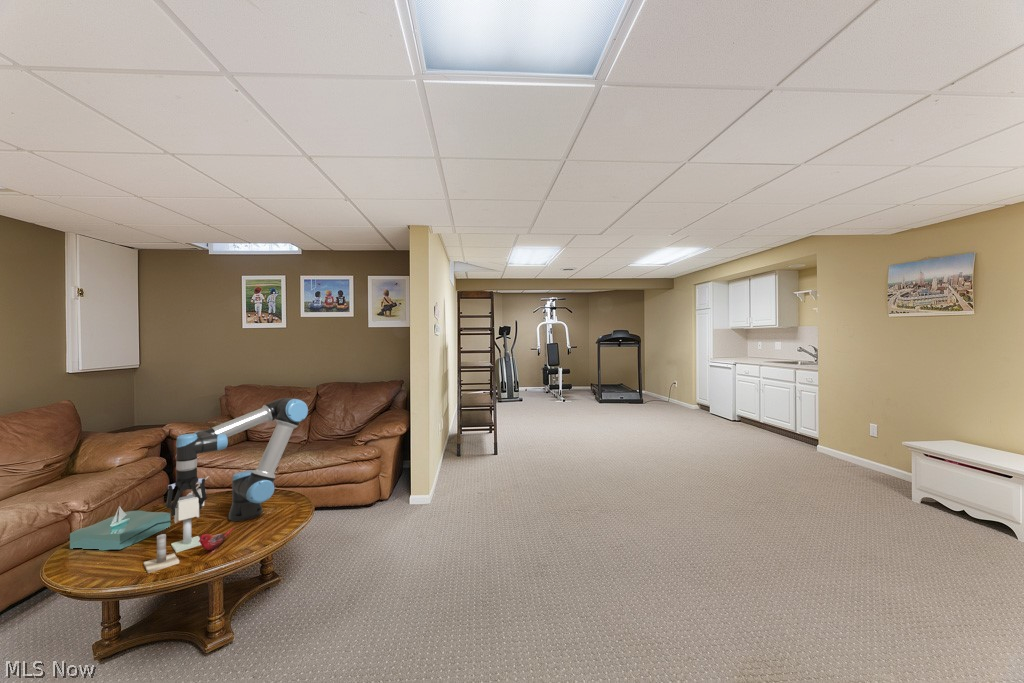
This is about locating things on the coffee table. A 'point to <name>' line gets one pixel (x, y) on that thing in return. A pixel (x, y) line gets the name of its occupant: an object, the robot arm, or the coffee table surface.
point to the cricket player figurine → (199, 491)
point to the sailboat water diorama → (120, 530)
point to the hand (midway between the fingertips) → (186, 519)
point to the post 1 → (161, 557)
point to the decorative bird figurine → (212, 540)
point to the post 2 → (186, 538)
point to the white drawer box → (187, 507)
